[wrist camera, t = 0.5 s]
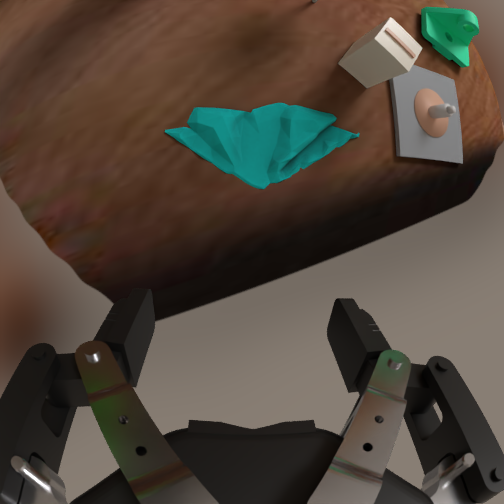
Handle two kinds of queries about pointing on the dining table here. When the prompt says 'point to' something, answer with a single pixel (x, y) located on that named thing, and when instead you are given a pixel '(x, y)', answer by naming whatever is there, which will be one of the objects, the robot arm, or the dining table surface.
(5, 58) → the dining table surface
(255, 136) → the cloth
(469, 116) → the dining table surface
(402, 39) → the striped cream block
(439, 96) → the base
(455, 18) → the camera mount
